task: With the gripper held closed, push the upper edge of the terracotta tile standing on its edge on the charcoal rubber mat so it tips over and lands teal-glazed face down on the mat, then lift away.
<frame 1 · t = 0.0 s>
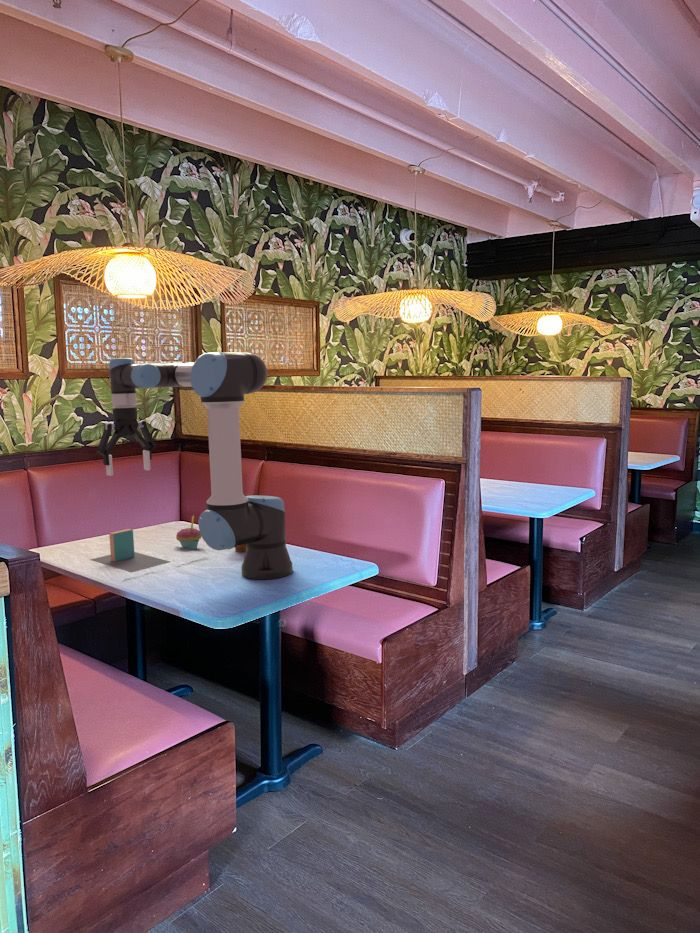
hand: (129, 472, 222), 28 cm above the table, fingers open, 13 cm apart
disposable coffee cup: (244, 550, 232), on the table
cupcake: (189, 549, 235), on the table
tile: (122, 558, 220), point 1 cm above the table, touching mat
mat: (130, 563, 218), on the table
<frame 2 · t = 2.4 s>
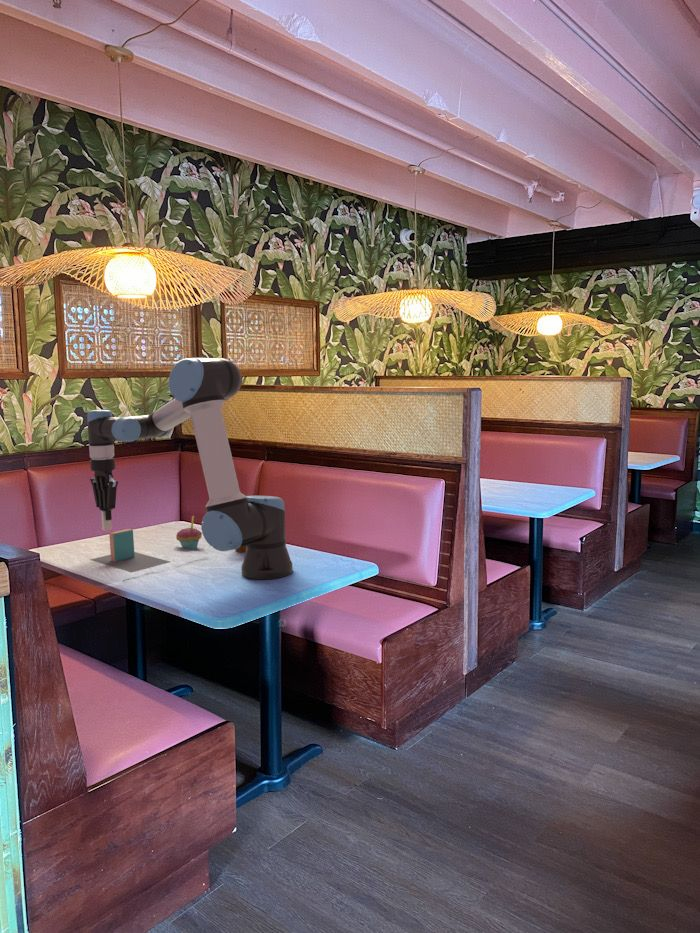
hand: (107, 529, 225), 9 cm above the table, fingers closed
nothing on the table moved.
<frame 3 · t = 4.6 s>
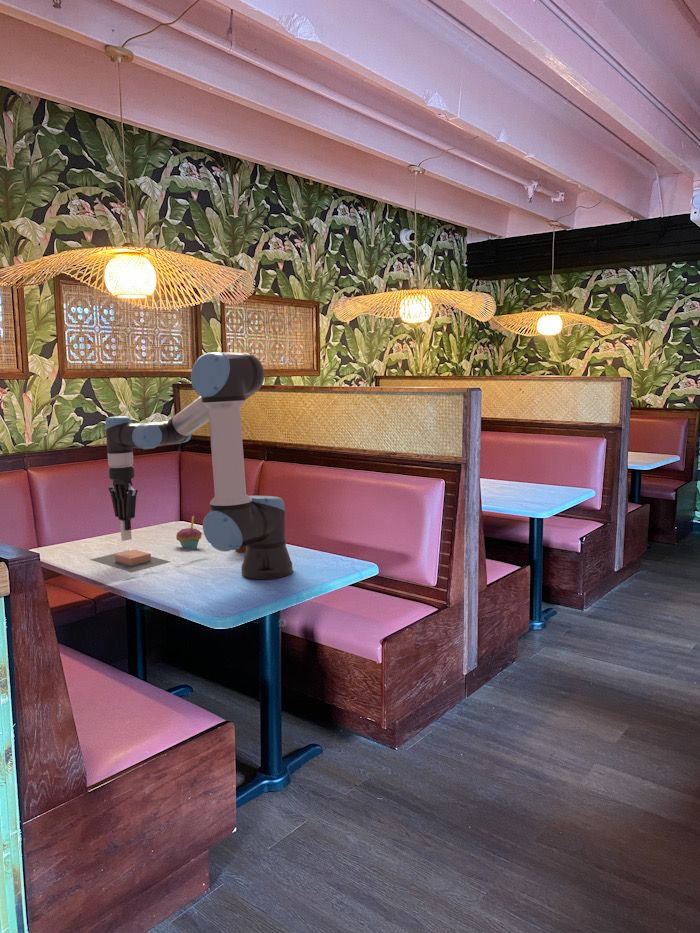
hand: (126, 539, 218), 8 cm above the table, fingers closed
tile: (125, 555, 219), point 2 cm above the table, tilted 90°, touching mat
everything else where it was.
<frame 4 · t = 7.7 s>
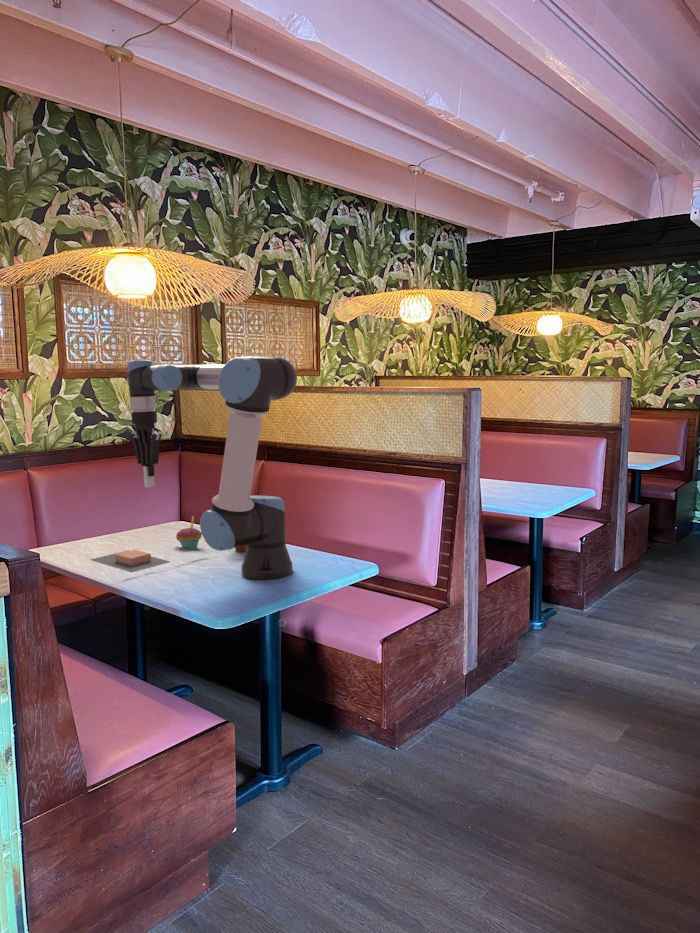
hand: (149, 486, 214), 25 cm above the table, fingers closed
nothing on the table moved.
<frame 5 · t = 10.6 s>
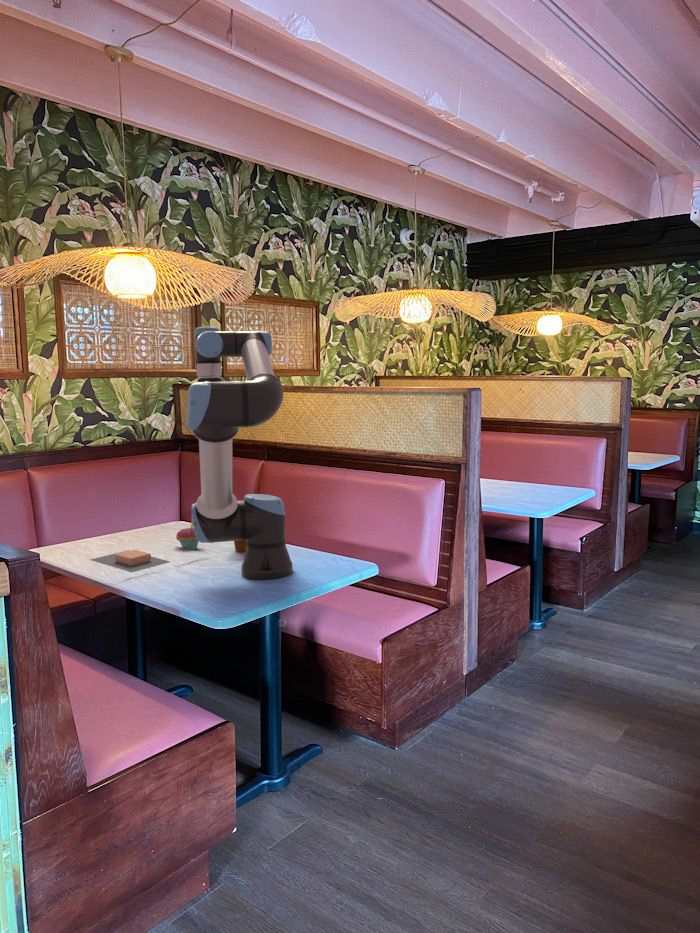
hand: (213, 452, 218), 34 cm above the table, fingers closed
nothing on the table moved.
at the end: tile tilted 90°; tile inside the target area (0.1 cm from its centre), point 2.4 cm above the table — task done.
